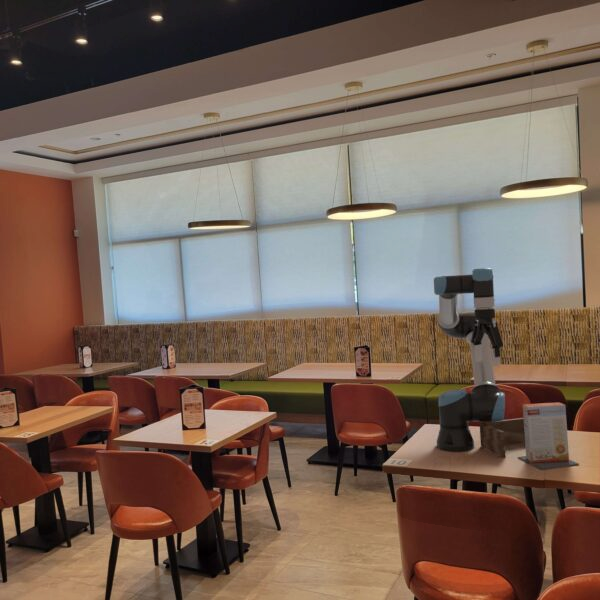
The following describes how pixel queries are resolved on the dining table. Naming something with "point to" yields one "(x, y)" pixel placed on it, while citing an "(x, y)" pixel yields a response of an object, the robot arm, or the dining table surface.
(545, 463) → the mat
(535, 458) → the cracker box
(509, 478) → the dining table surface
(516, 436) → the cubby shelf
